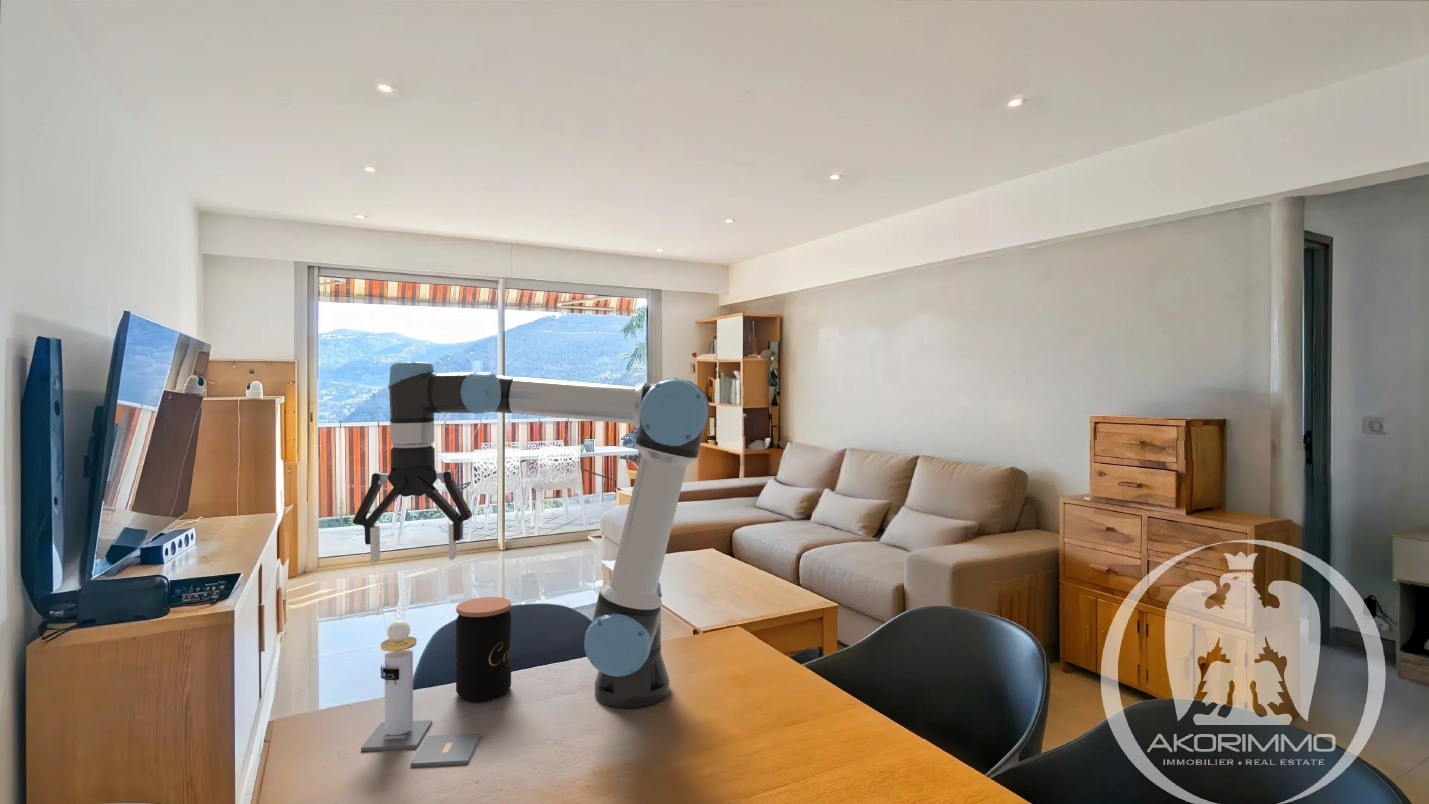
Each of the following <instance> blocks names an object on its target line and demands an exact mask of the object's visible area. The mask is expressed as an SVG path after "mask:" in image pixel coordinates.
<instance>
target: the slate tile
mask: <svg viewBox="0 0 1429 804" xmlns="http://www.w3.org/2000/svg"><path fill="white" fill-rule="evenodd" d="M481 736H482V735H481V732H480V733H477V732H476V733H461V734H444V735H443V734H440V735H438V734H437V735H427V736H426V738H425V740H424V741H423V742H422V745H421V746H420V748H419V750H417V753H416V754H415V756H414V757H413V759H412V760H411V762H410V768H419V767H435V766H438V767H439V766H454V765H455V766H456V765H468V764H469V762H470V760H471V758H472V756H473V755H474V751H475V750H476V747H477V745H478V743H479V741H480V739H481Z"/></svg>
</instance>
